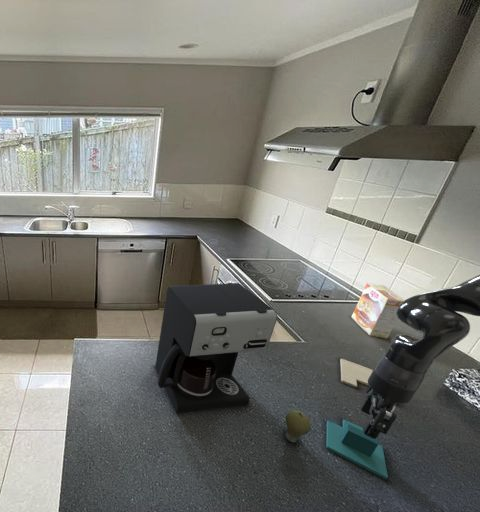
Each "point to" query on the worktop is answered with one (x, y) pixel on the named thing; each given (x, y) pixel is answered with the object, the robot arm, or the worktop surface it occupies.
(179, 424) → the worktop surface
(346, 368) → the beige tile
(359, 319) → the coffeecake box
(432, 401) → the worktop surface
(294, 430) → the light bulb
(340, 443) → the teal tile
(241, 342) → the coffee maker
